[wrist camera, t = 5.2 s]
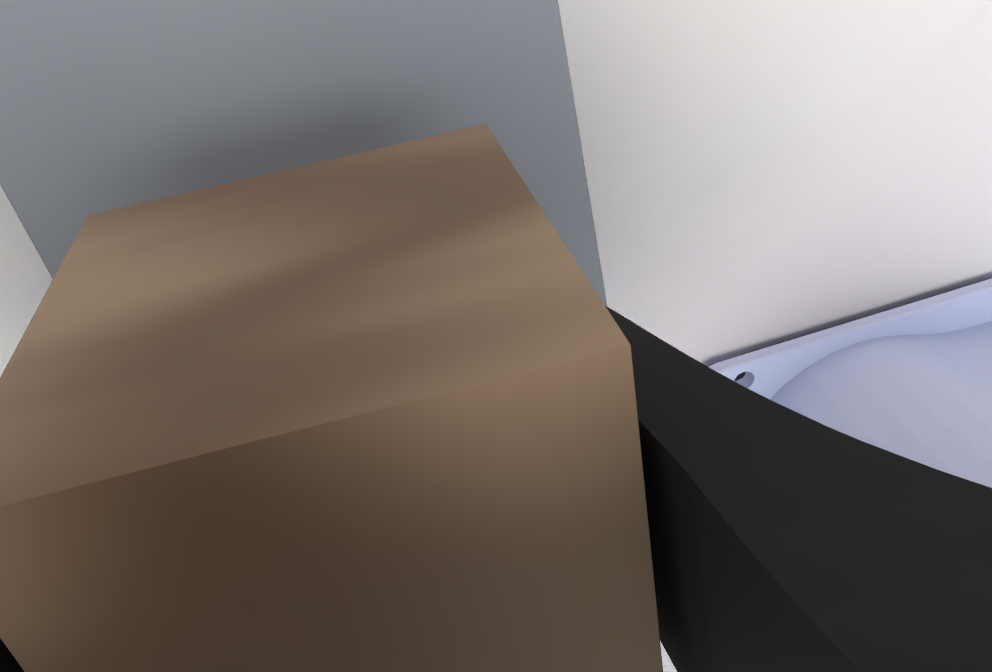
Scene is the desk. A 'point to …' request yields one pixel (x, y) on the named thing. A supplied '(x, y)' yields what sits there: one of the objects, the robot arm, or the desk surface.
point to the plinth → (272, 99)
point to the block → (327, 434)
